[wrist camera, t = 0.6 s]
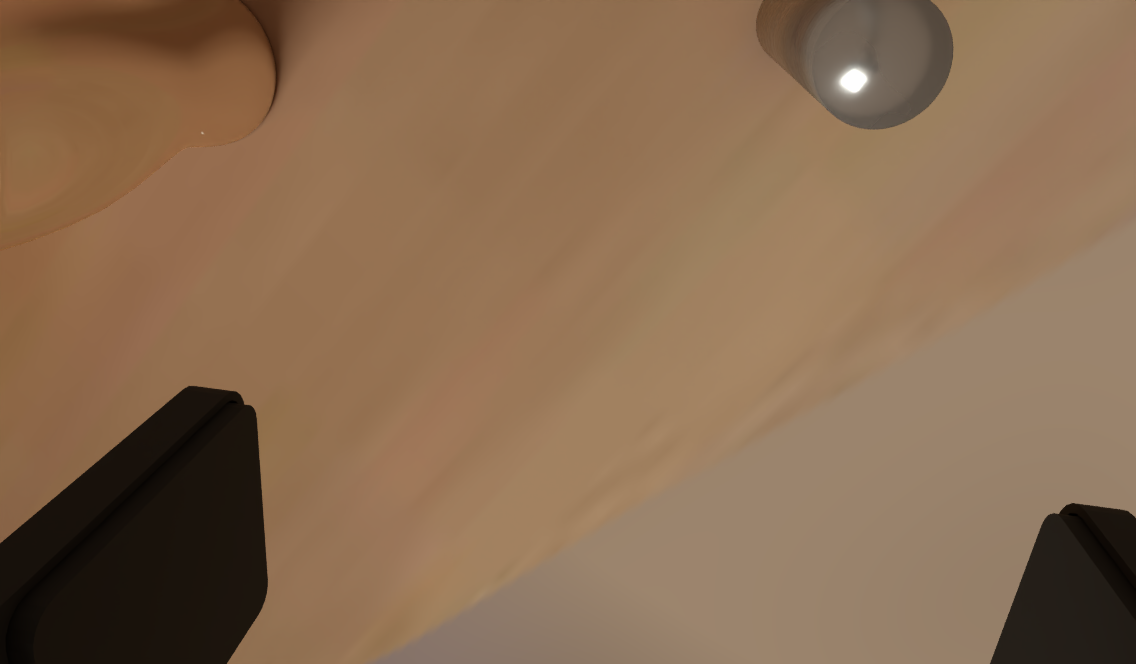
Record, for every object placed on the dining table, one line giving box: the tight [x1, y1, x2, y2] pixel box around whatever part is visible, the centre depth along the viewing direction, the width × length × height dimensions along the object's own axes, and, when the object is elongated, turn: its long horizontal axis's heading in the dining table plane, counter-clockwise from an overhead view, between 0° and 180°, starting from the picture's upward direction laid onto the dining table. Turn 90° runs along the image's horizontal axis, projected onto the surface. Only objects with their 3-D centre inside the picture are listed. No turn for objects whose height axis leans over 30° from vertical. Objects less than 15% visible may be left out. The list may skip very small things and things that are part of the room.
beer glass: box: [0, 0, 276, 251], centre depth 25 cm, size 7×7×15 cm
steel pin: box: [756, 0, 953, 129], centre depth 23 cm, size 3×3×13 cm
